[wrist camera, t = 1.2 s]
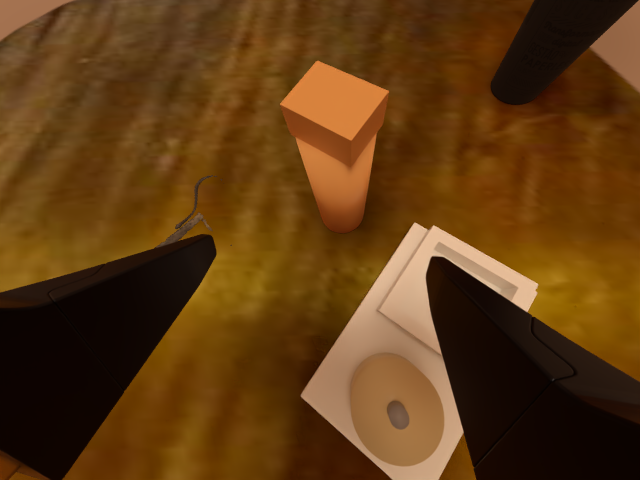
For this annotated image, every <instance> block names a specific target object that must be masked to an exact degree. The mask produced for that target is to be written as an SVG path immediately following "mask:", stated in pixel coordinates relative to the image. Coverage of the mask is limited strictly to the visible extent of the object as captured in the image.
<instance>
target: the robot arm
mask: <svg viewBox="0 0 640 480" xmlns="http://www.w3.org/2000/svg"><path fill="white" fill-rule="evenodd" d="M215 257H216V248H215V244H214V240H213V237H212V236H211V235H207V234H200V235H197V236H194V237H190V238H187V239H184V240H180V241H177V242H174V243H171V244H167V245H164V246H161V247H157V248H154V249H151V250H148V251H144V252H141V253H138V254H134V255H131V256H128V257H124V258H121V259H118V260H115V261H111V262H108V263H106V264H101V265H98V266H95V267H91V268H88V269H85V270H81V271H78V272H74V273H71V274H67V275H64V276H60V277H56V278H53V279H49V280H45V281H42V282H38V283H34V284H31V285H27V286H23V287H19V288H16V289H12V290H8V291H5V292H1V293H0V480H9V479H10V478H11V477H12V476H13V475H14V474H15V473H16V472H18V473H22V474H25V475H28V476H31V477H35V478H38V479H41V480H62V479H63V478H64V477H65V475H66V474H67V473H68V471H69V470H70V468H71V467H72V466H73V464H74V463H75V461H76V460H77V458H78V457H79V456H80V454H81V453H82V451H83V450H84V449H85V447H86V446H87V444H88V443H89V441H90V440H91V439H92V437H93V436H94V434H95V433H96V432H97V430H98V429H99V427H100V426H101V424H102V423H103V422H104V420H105V419H106V417H107V416H108V415H109V413H110V412H111V410H112V409H113V407H114V406H115V405H116V403H117V402H118V400H119V399H120V397H121V396H122V395H123V393H124V391H125V390H126V389H127V387H128V386H129V384H130V383H131V382H132V380H133V379H134V377H135V376H136V374H137V373H138V372H139V370H140V369H141V367H142V366H143V365H144V363H145V362H146V360H147V359H148V357H149V356H150V355H151V353H152V352H153V350H154V349H155V348H156V346H157V345H158V343H159V342H160V340H161V339H162V338H163V336H164V335H165V333H166V332H167V331H168V329H169V328H170V326H171V325H172V323H173V322H174V321H175V319H176V318H177V316H178V315H179V314H180V312H181V311H182V309H183V308H184V306H185V305H186V304H187V302H188V301H189V299H190V298H191V297H192V295H193V294H194V292H195V291H196V289H197V288H198V286H199V285H200V283H201V282H202V280H203V278H204V276H205V275H206V273H207V271H208V269H209V268H210V266H211V264H212V262H213V260H214V259H215ZM426 286H427V292H428V299H429V306H430V312H431V317H432V321H433V325H434V328H435V332H436V335H437V339H438V342H439V346H440V350H441V353H442V357H443V360H444V364H445V368H446V371H447V375H448V378H449V382H450V385H451V389H452V393H453V396H454V400H455V403H456V407H457V411H458V414H459V418H460V421H461V425H462V428H463V432H464V436H465V439H466V443H467V446H468V450H469V454H470V457H471V461H472V464H473V467H475V468H474V472H475V476H476V479H477V480H640V382H639V381H637V380H636V379H634V378H632V377H630V376H629V375H627V374H625V373H624V372H622V371H620V370H619V369H617V368H615V367H614V366H612V365H610V364H609V363H607V362H605V361H604V360H602V359H600V358H599V357H597V356H595V355H594V354H592V353H590V352H589V351H587V350H585V349H584V348H582V347H581V346H579V345H577V344H576V343H574V342H572V341H571V340H569V339H567V338H566V337H564V336H563V335H561V334H560V333H558V332H557V331H555V330H553V329H552V328H550V327H549V326H547V325H546V324H544V323H543V322H541V321H540V320H538V319H537V318H535V317H532V315H531V314H529V313H528V312H526V311H525V310H523V309H522V308H520V307H519V306H517V305H516V304H514V303H513V302H511V301H510V300H508V299H507V298H505V297H504V296H502V295H501V294H499V293H497V292H496V291H494V290H493V289H491V288H490V287H488V286H487V285H485V284H484V283H482V282H481V281H479V280H478V279H476V278H475V277H473V276H472V275H470V274H469V273H467V272H466V271H464V270H463V269H461V268H460V267H458V266H457V265H455V264H454V263H452V262H451V261H449V260H448V259H446V258H445V257H441V256H432V257H431V259H430V261H429V265H428V268H427V272H426Z"/></svg>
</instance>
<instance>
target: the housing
mask: <svg viewBox="0 0 640 480" xmlns="http://www.w3.org/2000/svg"><path fill="white" fill-rule="evenodd" d="M432 256H441V257H445V258H446V259H448V260H449V261H451V262H452V263H454V264H455V265H457V266H458V267H460V268H461V269H463V270H464V271H466V272H467V273H469V274H470V275H472V276H473V277H475V278H476V279H478V280H479V281H481V282H482V283H484V284H485V285H487V286H488V287H490V288H491V289H493V290H494V291H496V292H497V293H499V294H501V295H502V296H504V297H505V298H507V299H508V300H510V301H511V302H513V303H514V304H516V305H517V306H519V307H520V308H522V309H523V310H525V311H526V312H528V310H529V308H530V306H531V304H532V302H533V300H534V298H535V296H536V295H537V292H536V291H535V290H536V288H537V286H538V284H537V283H535V282H533V281H532V280H530V279H528V278H526V277H525V276H523V275H521V274H519V273H517V272H516V271H514V270H512V269H510V268H509V267H507V266H505V265H503V264H501V263H500V262H498V261H496V260H494V259H493V258H491V257H489V256H487V255H485V254H484V253H482V252H480V251H478V250H477V249H475V248H473V247H471V246H469V245H468V244H466V243H464V242H462V241H461V240H459V239H457V238H455V237H453V236H452V235H450V234H448V233H446V232H445V231H443V230H441V229H439V228H437V227H436V226H434V225H433V226H432V227H431V228H430V229H429V230H427V229H425V228H424V227H422V226H420V225H418V224H417V223H414V224H413V225H412V227H411V228H410V230H409V231H408V233H407V234H406V236H405V237H404V239H403V240H402V242H401V243H400V245H399V246H398V248H397V249H396V251H395V252H394V254H393V255H392V257H391V258H390V260H389V261H388V263H387V264H386V266H385V267H384V269H383V270H382V272H381V273H380V275H379V277H378V278H377V280H376V281H375V283H374V284H373V286H372V287H371V289H370V290H369V292H368V293H367V295H366V296H365V298H364V299H363V301H362V302H361V304H360V305H359V307H358V308H357V310H356V311H355V313H354V314H353V316H352V317H351V319H350V320H349V322H348V324H347V325H346V327H345V328H344V330H343V331H342V333H341V334H340V336H339V337H338V339H337V340H336V342H335V343H334V345H333V346H332V348H331V349H330V351H329V352H328V354H327V355H326V357H325V358H324V360H323V361H322V363H321V364H320V366H319V367H318V369H317V370H316V372H315V374H314V375H313V377H312V378H311V380H310V381H309V383H308V384H307V386H306V387H305V389H304V390H303V392H302V394H301V397H302V398H303V399H304V400H305V401H306V402H307V403H309V404H310V405H311V406H312V407H313V408H314V409H315V410H316V411H317V412H318V413H320V414H321V415H322V416H323V417H324V418H325V419H326V420H327V421H328V422H330V423H331V424H332V425H333V426H334V427H335V428H336V429H337V430H338V431H340V432H341V433H342V434H343V435H344V436H345V437H346V438H347V439H348V440H349V441H351V442H352V443H353V444H354V445H355V446H356V447H357V448H358V449H359V450H361V451H362V452H363V453H364V454H365V455H366V456H367V457H368V458H369V459H371V460H372V461H373V462H374V463H375V464H376V465H377V466H378V467H379V468H380V469H382V470H383V471H384V472H385V473H386V474H387V475H388V476H389V477H390V478H392V479H393V480H438V479H439V477H440V476H441V474H442V472H443V470H444V468H445V466H446V464H447V462H448V460H449V459H450V457H451V455H452V453H453V451H454V449H455V447H456V445H457V444H458V442H459V440H460V438H461V436H462V434H463V428H462V425H461V421H460V418H459V414H458V411H457V407H456V403H455V400H454V396H453V393H452V389H451V385H450V382H449V378H448V375H447V371H446V368H445V364H444V360H443V357H442V353H441V350H440V346H439V342H438V339H437V335H436V332H435V328H434V325H433V321H432V317H431V312H430V306H429V299H428V292H427V286H426V272H427V268H428V265H429V261H430V259H431V257H432Z"/></svg>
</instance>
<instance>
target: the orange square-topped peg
mask: <svg viewBox="0 0 640 480" xmlns="http://www.w3.org/2000/svg"><path fill="white" fill-rule="evenodd" d="M388 94H389V91H387V90H385V89H383V88H380V87H378V86H376V85H373V84H371V83H369V82H366V81H364V80H361V79H359V78H357V77H354V76H352V75H350V74H347V73H345V72H343V71H340V70H338V69H336V68H333V67H331V66H329V65H326V64H324V63H322V62H319V61H316V62H315V64H314V65H313V66H312V67H311V68H310V70H309V71H308V72H307V73H306V74H305V75H304V77H303V78H302V79H301V80H300V81H299V82H298V84H297V85H296V86H295V87H294V88H293V90H292V91H291V92H290V93H289V94H288V95H287V97H286V98H285V99H284V100H283V101H282V102H281V104H280V106H281V109H282V112H283V115H284V117H285V120H286V123H287V126H288V129H289V132H290V134H291V135H293V136H295V137H296V140H297V144H298V147H299V150H300V153H301V156H302V159H303V163H304V166H305V169H306V172H307V175H308V178H309V181H310V184H311V187H312V190H313V193H314V196H315V199H316V202H317V206H318V209H319V212H320V215H321V218H322V221H323V223H324V224H325V226H326V227H327V228H328V229H330V230H331V231H333V232H336V233H348V232H351V231H353V230H354V229H356V228H357V227H358V226H359V225H360V223H361V222H362V220H363V216H364V210H365V203H366V197H367V191H368V185H369V178H370V172H371V166H372V160H373V153H374V147H375V141H376V134H377V132H378V130H379V129H380V128H381V126H382V125H383V121H384V116H385V110H386V105H387V99H388Z"/></svg>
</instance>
